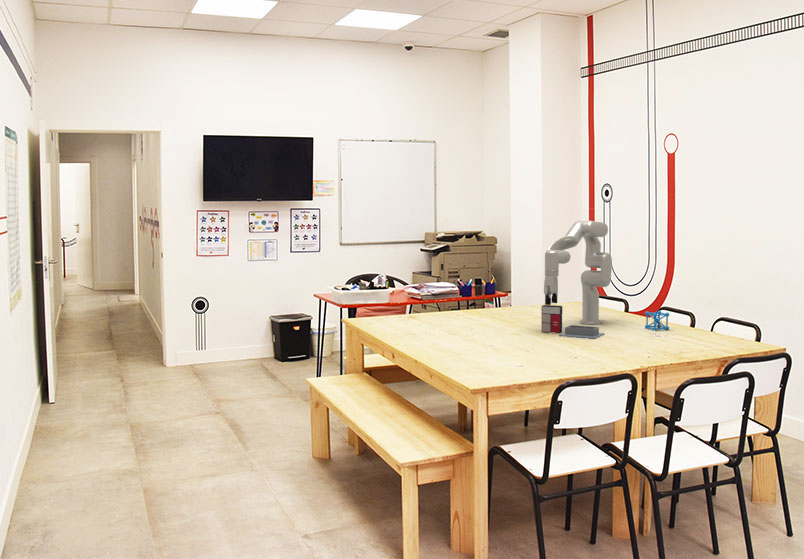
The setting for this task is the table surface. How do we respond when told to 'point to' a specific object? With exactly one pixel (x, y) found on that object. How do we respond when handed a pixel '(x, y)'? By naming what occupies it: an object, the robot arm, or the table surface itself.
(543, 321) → the multicoloured piece
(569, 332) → the desk holder
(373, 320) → the table surface
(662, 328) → the molecular structure
